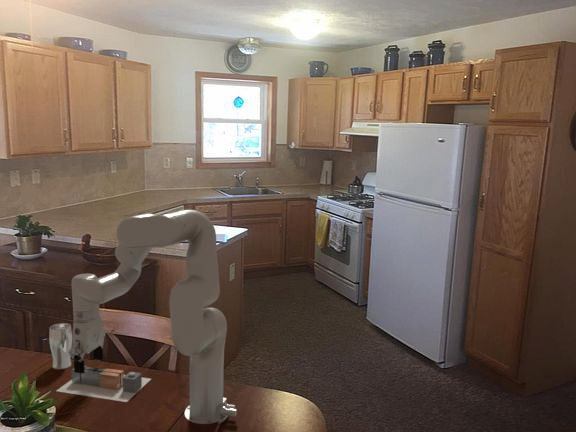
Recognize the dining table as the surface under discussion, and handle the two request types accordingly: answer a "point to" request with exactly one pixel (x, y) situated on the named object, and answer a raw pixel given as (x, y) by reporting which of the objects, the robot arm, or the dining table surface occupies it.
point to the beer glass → (60, 345)
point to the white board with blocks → (123, 393)
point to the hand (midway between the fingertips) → (89, 365)
